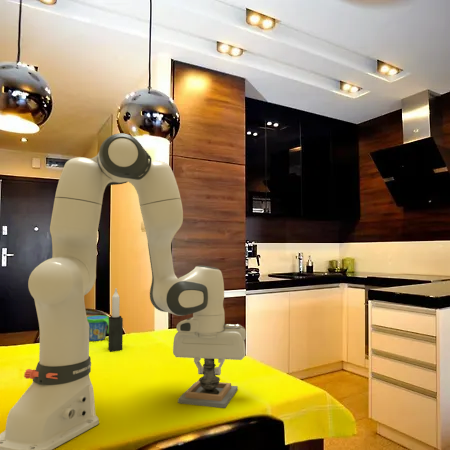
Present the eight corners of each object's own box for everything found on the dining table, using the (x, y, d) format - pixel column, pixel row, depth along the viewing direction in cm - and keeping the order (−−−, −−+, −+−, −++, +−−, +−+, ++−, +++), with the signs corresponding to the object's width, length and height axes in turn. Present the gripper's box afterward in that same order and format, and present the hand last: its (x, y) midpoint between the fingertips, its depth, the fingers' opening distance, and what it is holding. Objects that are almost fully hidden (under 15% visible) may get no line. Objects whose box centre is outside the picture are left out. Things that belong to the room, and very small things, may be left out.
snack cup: (117, 339, 172) (117, 316, 173) (99, 344, 163) (99, 320, 164) (93, 335, 180) (94, 314, 180) (75, 340, 171) (75, 317, 171)
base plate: (225, 408, 95) (225, 399, 95) (178, 402, 99) (177, 394, 99) (237, 389, 108) (237, 381, 108) (195, 385, 111) (195, 378, 111)
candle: (107, 349, 154) (108, 288, 156) (120, 347, 157) (120, 287, 159) (110, 351, 150) (110, 289, 152) (122, 350, 152) (123, 288, 154)
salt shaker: (208, 398, 99) (207, 352, 100) (194, 392, 103) (194, 348, 104) (224, 392, 103) (224, 348, 104) (211, 387, 107) (210, 344, 108)
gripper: (247, 322, 106) (248, 372, 105) (178, 320, 110) (178, 368, 109) (244, 326, 100) (245, 380, 99) (170, 325, 103) (171, 376, 103)
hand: (209, 374), depth 104 cm, fingers open, 3 cm apart
